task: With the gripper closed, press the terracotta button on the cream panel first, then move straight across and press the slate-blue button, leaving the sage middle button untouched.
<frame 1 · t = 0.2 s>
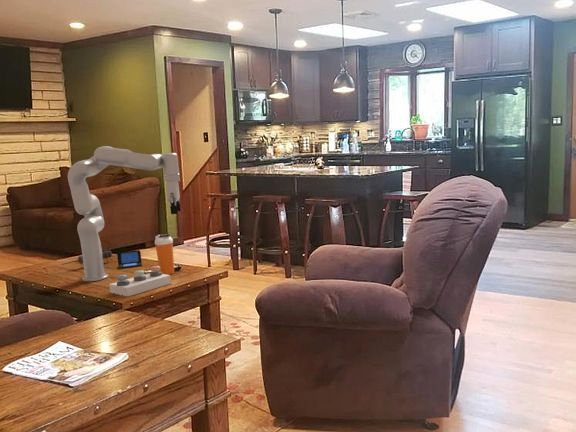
hand: (175, 212, 301), 31 cm above the table, fingers open, 9 cm apart
button sage: (139, 272, 280), point 7 cm above the table, slide at 0.0 cm
button panel: (141, 288, 281), on the table
bomb: (89, 267, 339), on the table
shaker bottle: (167, 273, 307), on the table
object: (130, 266, 333), on the table
button terracotta: (155, 268, 287), point 7 cm above the table, slide at 0.0 cm
button slate: (122, 277, 274), point 7 cm above the table, slide at 0.0 cm
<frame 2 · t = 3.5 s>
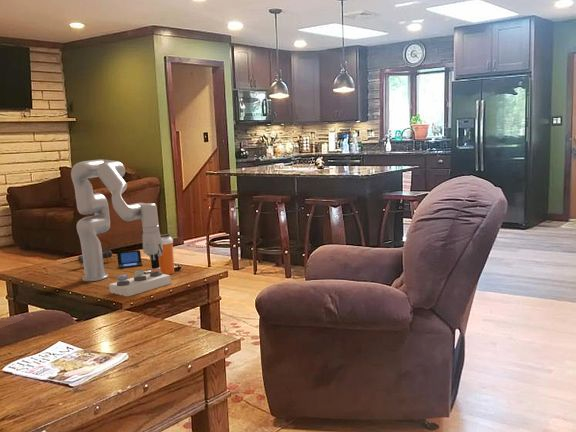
hand: (155, 267, 287), 8 cm above the table, fingers closed
button terracotta: (155, 269, 287), point 7 cm above the table, slide at 0.5 cm, touching gripper
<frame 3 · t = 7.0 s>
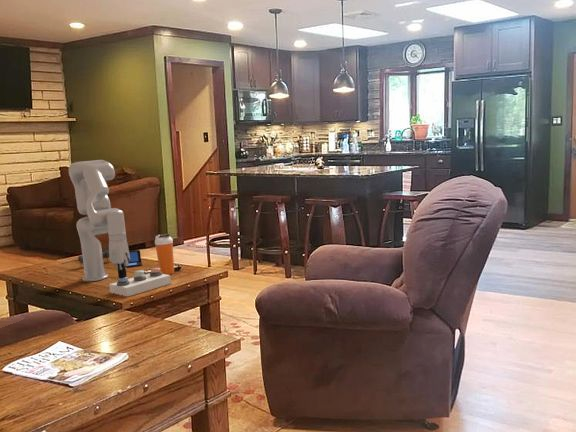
hand: (122, 277, 274), 7 cm above the table, fingers closed
button terracotta: (155, 270, 287), point 6 cm above the table, slide at 0.8 cm
button slate: (122, 279, 274), point 6 cm above the table, slide at 0.8 cm, touching gripper
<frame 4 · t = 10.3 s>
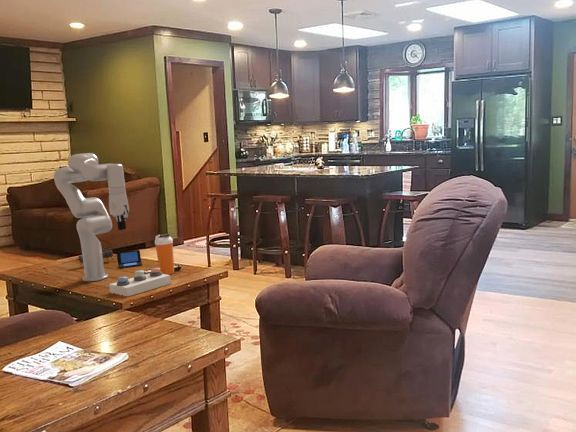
hand: (122, 229, 284), 27 cm above the table, fingers closed
button slate: (122, 279, 274), point 6 cm above the table, slide at 0.8 cm
at the end: button terracotta slide at 0.8 cm; button slate slide at 0.8 cm; button sage slide at 0.0 cm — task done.
